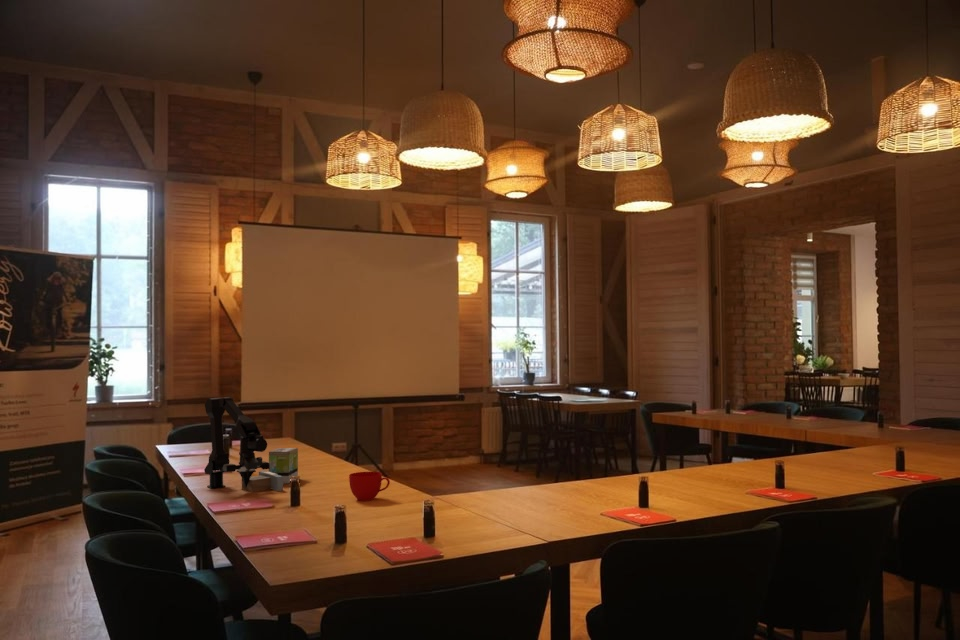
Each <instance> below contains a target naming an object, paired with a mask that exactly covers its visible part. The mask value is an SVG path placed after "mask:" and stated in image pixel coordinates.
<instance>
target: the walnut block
mask: <svg viewBox="0 0 960 640" xmlns="http://www.w3.org/2000/svg"><path fill="white" fill-rule="evenodd" d="M266 489H268V490H272V489H271V477H265V476H259V475H254V476H251V477H250V479H249V482H248V485H247V487H245V485H244V482H243V479H242V478H241V491H242V490H243V491H245V490H247V491H246V492H250V491H251V492H250V493H253V491H255V492H260V491H259V490H261V491H266Z"/></svg>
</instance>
